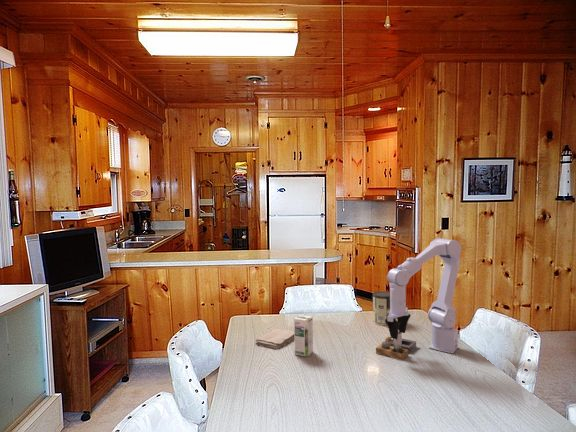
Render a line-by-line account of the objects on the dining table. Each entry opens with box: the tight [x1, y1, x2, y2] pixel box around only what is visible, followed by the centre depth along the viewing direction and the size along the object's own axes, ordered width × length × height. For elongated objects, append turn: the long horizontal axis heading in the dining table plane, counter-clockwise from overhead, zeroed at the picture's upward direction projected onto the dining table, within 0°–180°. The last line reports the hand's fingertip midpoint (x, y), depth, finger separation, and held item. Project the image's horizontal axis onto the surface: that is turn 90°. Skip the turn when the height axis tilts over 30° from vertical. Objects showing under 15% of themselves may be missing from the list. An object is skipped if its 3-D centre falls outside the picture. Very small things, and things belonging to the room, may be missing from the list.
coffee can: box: [372, 291, 390, 327], centre depth 187 cm, size 10×10×14 cm
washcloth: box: [255, 328, 295, 350], centre depth 166 cm, size 12×18×3 cm, turn 149°
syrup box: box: [293, 314, 314, 358], centre depth 151 cm, size 6×6×14 cm
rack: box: [375, 341, 409, 361], centre depth 149 cm, size 11×5×4 cm, turn 52°
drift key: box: [384, 336, 393, 342], centre depth 158 cm, size 5×3×3 cm
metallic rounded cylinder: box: [392, 331, 403, 354], centre depth 148 cm, size 3×3×9 cm
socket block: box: [389, 337, 417, 354], centre depth 156 cm, size 9×8×2 cm
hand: (398, 335), depth 147 cm, fingers open, 7 cm apart
